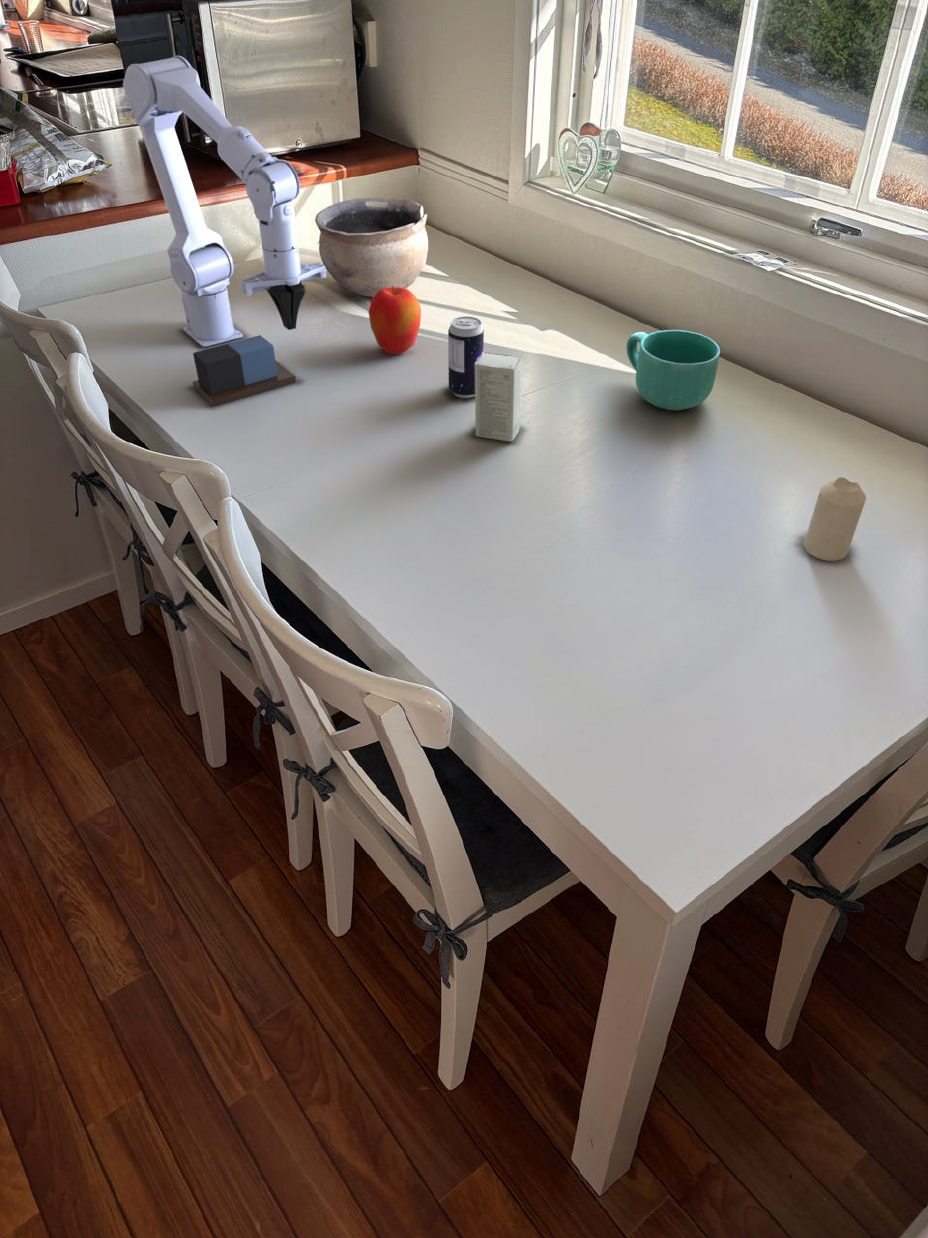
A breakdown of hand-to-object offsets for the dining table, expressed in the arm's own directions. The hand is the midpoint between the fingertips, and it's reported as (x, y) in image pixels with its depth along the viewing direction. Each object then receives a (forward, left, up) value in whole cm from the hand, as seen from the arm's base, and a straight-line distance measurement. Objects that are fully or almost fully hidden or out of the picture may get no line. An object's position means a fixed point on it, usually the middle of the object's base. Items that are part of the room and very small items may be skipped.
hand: (289, 327), depth 157 cm
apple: (+6, +18, -7) cm, 20 cm away
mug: (+46, +45, -7) cm, 64 cm away
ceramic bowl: (-21, +30, -7) cm, 37 cm away
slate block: (+2, -8, -6) cm, 10 cm away
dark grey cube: (+2, -14, -6) cm, 16 cm away
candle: (+89, +32, -7) cm, 94 cm away
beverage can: (+26, +19, -7) cm, 32 cm away
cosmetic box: (+40, +15, -7) cm, 43 cm away
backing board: (+2, -10, -7) cm, 13 cm away
